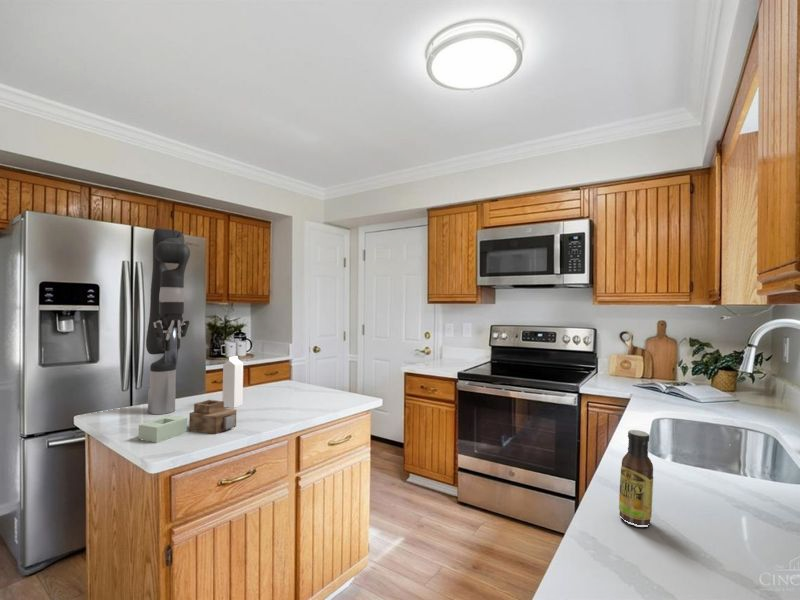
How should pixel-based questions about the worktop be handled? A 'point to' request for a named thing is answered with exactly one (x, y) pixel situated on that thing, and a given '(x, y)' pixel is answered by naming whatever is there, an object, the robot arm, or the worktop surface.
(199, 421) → the socket block
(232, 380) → the milk
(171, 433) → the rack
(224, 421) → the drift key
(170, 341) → the grey peg
